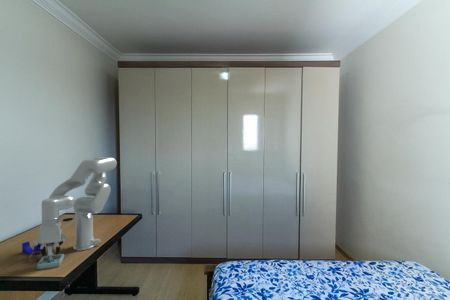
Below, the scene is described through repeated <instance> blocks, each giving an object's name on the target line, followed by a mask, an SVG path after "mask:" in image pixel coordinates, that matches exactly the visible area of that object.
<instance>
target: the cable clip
mask: <svg viewBox="0 0 450 300" xmlns="http://www.w3.org/2000/svg"><path fill="white" fill-rule="evenodd" d="M21 250H22V252H21V253H22V254H25V255H28V256H30V255H31V253H32V252H37V251H41V249H40V248H39V247H38V246H37V245H34V246H33V248H32V246H31V244H30V241H25V242H23V243H21Z"/></svg>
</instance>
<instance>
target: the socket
mask: <svg viewBox="0 0 450 300" xmlns="http://www.w3.org/2000/svg"><path fill="white" fill-rule="evenodd" d="M42 257H43V256H42V254H41V251H37V252H32V253H31V255H28V258H27V260H28V261H27V262H28V263H31V262H32V263H33V262H39V261H40V260H41V259H42Z"/></svg>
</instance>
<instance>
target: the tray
mask: <svg viewBox="0 0 450 300" xmlns="http://www.w3.org/2000/svg"><path fill="white" fill-rule="evenodd" d="M64 260H65V253H60V254H59V253H58V254H57V255H56V254H54V262H52V263H47V255H45V256H43V257H42V259H41V260H40V261H38V262H37V264H36V267H35V268H36V269H35V270H36V271H38V270H39V271H40V270H45V269H46V270H47V269H53V268H58V267H60V266H61V265H62V263H63V261H64Z"/></svg>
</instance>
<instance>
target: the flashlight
mask: <svg viewBox="0 0 450 300" xmlns="http://www.w3.org/2000/svg"><path fill="white" fill-rule="evenodd" d="M54 245H55V243H46V244H45V247H46V256H47V263H52V262H54V255H55V252H54V251H55V247H54Z"/></svg>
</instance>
